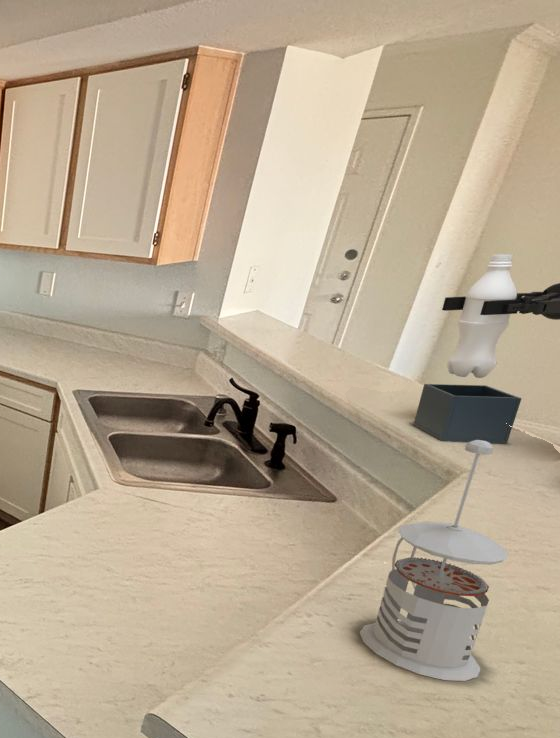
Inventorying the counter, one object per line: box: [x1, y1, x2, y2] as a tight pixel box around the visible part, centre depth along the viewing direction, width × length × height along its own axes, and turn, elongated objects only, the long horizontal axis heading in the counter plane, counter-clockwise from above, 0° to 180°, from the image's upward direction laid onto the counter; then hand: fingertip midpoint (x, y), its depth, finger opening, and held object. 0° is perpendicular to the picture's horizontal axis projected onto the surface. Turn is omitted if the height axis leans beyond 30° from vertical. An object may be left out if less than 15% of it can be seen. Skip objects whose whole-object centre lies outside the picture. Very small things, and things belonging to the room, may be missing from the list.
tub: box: [412, 383, 522, 445], centre depth 126 cm, size 11×11×10 cm
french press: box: [359, 440, 509, 682], centre depth 63 cm, size 10×12×25 cm
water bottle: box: [446, 253, 518, 379], centre depth 122 cm, size 7×7×25 cm
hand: (464, 306), depth 121 cm, fingers closed on water bottle, 7 cm apart
